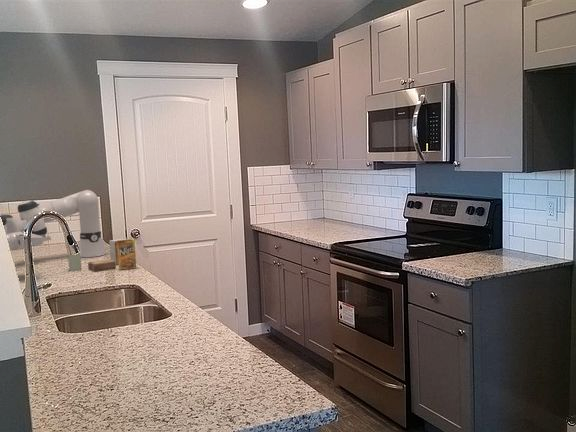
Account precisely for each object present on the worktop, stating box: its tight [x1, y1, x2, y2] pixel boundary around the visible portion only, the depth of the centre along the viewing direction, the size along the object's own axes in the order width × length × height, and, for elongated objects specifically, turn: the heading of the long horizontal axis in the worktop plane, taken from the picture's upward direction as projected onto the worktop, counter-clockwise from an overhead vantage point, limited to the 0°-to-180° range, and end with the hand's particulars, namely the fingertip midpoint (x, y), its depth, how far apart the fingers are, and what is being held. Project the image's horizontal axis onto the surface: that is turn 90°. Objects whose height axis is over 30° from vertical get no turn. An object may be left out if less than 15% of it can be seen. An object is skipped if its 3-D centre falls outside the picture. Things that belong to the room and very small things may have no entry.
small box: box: [108, 238, 123, 266], centre depth 323 cm, size 8×6×13 cm
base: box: [87, 258, 117, 273], centre depth 309 cm, size 10×11×4 cm
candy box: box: [117, 238, 137, 271], centre depth 306 cm, size 9×4×15 cm, turn 107°
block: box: [67, 247, 82, 272], centre depth 309 cm, size 5×5×12 cm
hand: (47, 237), depth 300 cm, fingers open, 8 cm apart
